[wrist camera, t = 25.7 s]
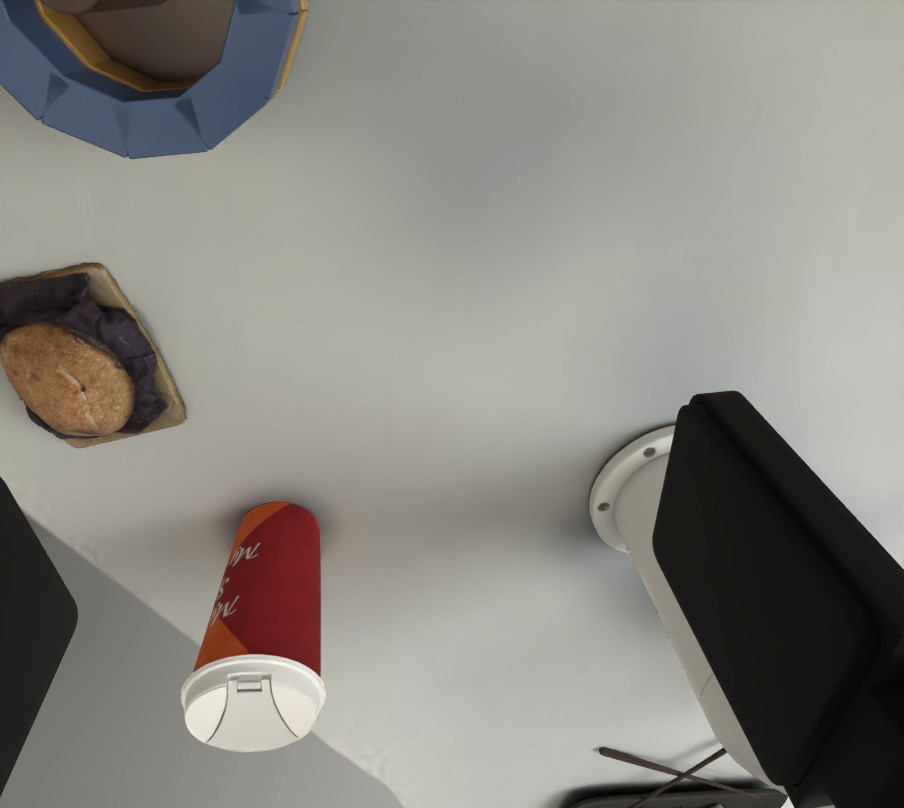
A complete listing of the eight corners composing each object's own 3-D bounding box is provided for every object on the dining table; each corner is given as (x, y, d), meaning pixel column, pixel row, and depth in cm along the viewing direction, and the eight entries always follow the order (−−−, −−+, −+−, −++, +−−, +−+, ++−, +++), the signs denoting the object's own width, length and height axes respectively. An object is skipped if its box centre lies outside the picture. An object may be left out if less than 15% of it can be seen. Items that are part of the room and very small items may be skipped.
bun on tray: (198, 415, 39) (185, 452, 36) (66, 445, 39) (42, 485, 36) (113, 255, 32) (88, 284, 29) (-43, 291, 32) (-84, 323, 29)
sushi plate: (540, 840, 80) (547, 875, 77) (609, 710, 64) (621, 747, 61) (741, 827, 85) (755, 859, 82) (851, 704, 69) (874, 738, 66)
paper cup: (220, 488, 42) (166, 680, 30) (336, 491, 43) (326, 675, 32) (228, 567, 46) (182, 762, 35) (333, 567, 47) (323, 755, 36)
